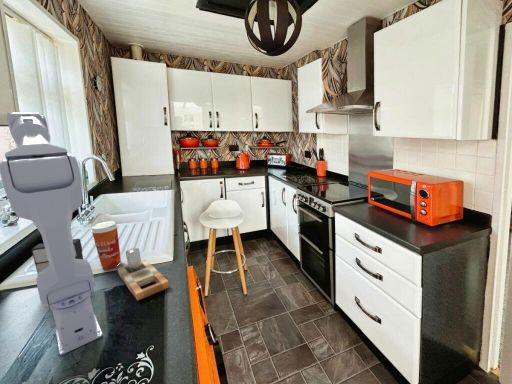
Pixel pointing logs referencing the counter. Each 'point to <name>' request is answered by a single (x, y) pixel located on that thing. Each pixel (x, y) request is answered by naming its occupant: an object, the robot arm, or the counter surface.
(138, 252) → the peg
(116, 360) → the counter surface
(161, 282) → the wooden slotted board
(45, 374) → the counter surface
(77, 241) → the calculator
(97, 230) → the coffee cup
